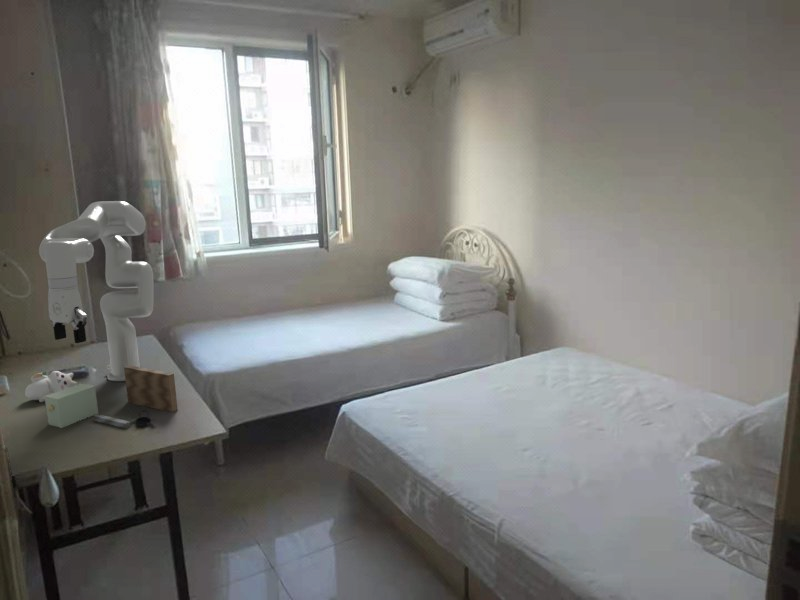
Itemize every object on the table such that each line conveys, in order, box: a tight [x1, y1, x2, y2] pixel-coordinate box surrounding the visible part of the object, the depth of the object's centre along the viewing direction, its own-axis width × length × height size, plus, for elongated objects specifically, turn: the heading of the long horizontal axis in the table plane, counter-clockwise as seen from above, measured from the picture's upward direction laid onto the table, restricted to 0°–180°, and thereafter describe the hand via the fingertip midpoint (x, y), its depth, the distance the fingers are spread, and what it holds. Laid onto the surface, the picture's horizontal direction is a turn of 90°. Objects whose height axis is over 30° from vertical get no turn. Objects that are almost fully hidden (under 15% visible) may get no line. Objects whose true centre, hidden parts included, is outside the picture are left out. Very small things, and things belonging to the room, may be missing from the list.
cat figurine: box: [24, 370, 78, 403], centre depth 195 cm, size 10×8×15 cm
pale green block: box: [44, 383, 99, 429], centre depth 176 cm, size 6×13×9 cm, turn 154°
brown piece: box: [92, 365, 178, 429], centre depth 178 cm, size 20×16×12 cm
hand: (70, 340), depth 173 cm, fingers open, 9 cm apart
